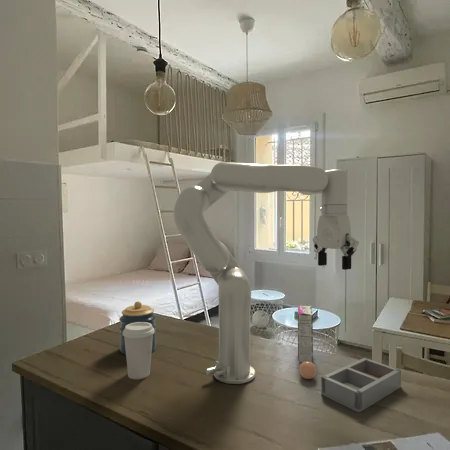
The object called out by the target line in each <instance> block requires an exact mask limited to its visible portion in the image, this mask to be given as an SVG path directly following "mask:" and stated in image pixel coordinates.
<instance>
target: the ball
mask: <svg viewBox="0 0 450 450" xmlns="http://www.w3.org/2000/svg"><path fill="white" fill-rule="evenodd" d="M298 370H299V374H300V376H301V377H303V379H306V380H311V379H313V378H315V377H316V374H317V367H316V365H315V364H314V363H312V362H310V361H304V362H302V363H300V365H299V369H298Z"/></svg>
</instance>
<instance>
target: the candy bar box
mask: <svg viewBox="0 0 450 450" xmlns="http://www.w3.org/2000/svg"><path fill="white" fill-rule="evenodd" d="M313 315H314V314H313V309H312V306H311V305H297V360H298V363H300V364H301V363H302V362H304V361H310V362H312V363H313V362H314V347H313V346H314V331H313V330H314V329H313V327H314V324H313V320H314V319H313V317H314V316H313ZM313 364H314V363H313Z"/></svg>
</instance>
